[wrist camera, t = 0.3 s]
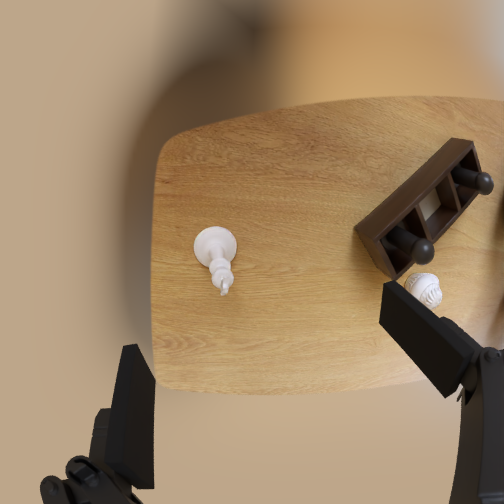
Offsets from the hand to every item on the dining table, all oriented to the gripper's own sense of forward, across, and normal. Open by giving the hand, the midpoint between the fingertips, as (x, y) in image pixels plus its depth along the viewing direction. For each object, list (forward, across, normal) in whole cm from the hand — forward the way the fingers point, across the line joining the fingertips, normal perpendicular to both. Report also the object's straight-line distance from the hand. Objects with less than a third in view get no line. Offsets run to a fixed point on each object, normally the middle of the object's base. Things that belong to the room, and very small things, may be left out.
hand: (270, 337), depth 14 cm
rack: (+20, +28, -2) cm, 35 cm away
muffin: (+20, +28, -16) cm, 38 cm away
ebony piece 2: (+20, +34, +2) cm, 40 cm away
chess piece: (+20, -2, -3) cm, 21 cm away
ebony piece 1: (+20, +22, -6) cm, 30 cm away
